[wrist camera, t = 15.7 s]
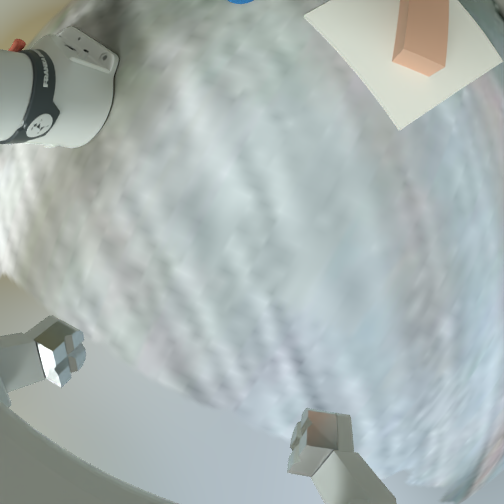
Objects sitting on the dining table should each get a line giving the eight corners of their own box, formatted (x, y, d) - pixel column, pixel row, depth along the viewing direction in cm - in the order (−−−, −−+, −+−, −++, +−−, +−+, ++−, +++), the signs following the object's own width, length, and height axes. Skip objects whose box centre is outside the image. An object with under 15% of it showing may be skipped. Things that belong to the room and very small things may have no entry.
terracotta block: (403, 48, 22) (410, -27, 18) (391, 61, 27) (400, -9, 23) (445, 67, 22) (448, -10, 18) (428, 76, 27) (435, 5, 23)
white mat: (304, 17, 28) (304, 15, 27) (419, -36, 21) (420, -38, 20) (398, 130, 30) (400, 129, 30) (500, 62, 23) (503, 61, 23)
